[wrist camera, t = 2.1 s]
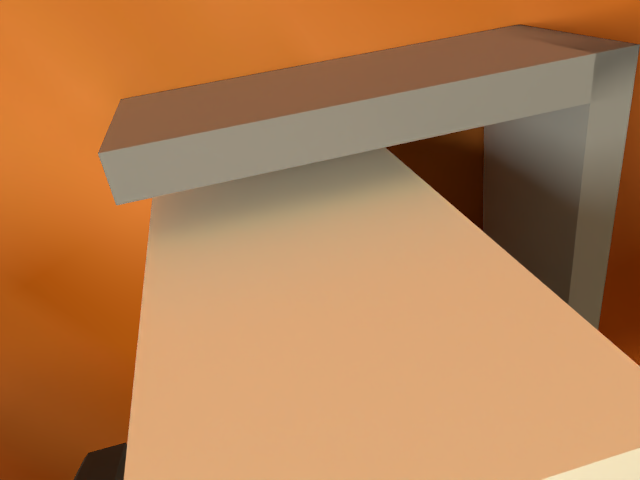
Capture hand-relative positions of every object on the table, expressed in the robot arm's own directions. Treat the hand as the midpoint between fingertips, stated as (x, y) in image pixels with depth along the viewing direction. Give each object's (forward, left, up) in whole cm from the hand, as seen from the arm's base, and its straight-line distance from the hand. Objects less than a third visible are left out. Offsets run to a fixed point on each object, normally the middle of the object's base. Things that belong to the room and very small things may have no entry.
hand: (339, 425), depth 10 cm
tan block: (0, 0, -5) cm, 5 cm away
